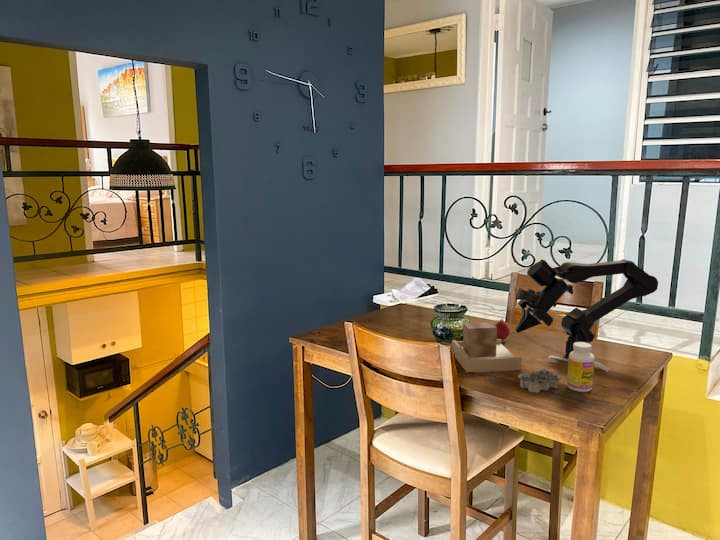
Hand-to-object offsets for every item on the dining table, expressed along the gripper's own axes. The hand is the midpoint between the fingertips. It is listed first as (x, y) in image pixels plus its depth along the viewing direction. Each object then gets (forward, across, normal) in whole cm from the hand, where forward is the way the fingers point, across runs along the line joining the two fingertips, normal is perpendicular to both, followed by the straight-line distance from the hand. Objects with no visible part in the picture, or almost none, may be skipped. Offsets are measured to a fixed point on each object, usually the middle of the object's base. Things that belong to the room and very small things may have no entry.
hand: (516, 331), depth 175 cm
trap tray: (+14, 0, -1) cm, 14 cm away
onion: (+6, -20, +6) cm, 21 cm away
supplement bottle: (+1, +23, +16) cm, 28 cm away
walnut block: (+13, 0, -4) cm, 14 cm away
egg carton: (+8, +21, +8) cm, 24 cm away
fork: (-5, +4, +20) cm, 21 cm away
